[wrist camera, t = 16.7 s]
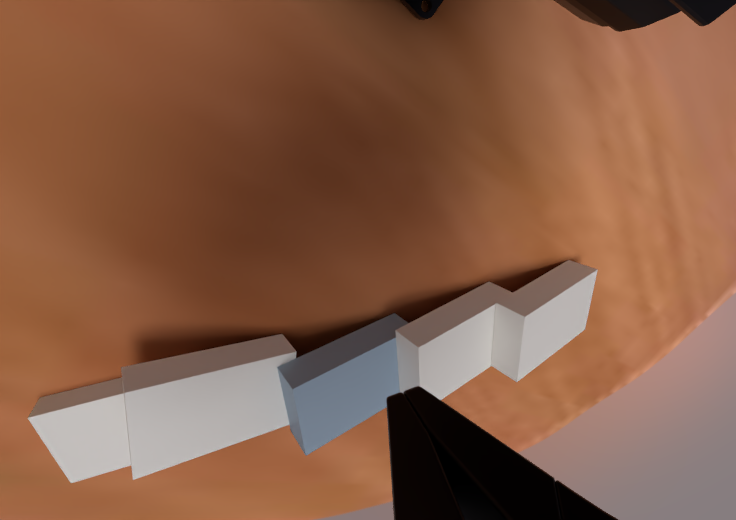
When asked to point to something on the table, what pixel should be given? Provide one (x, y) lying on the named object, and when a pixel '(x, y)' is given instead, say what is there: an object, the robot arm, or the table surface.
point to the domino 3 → (341, 383)
